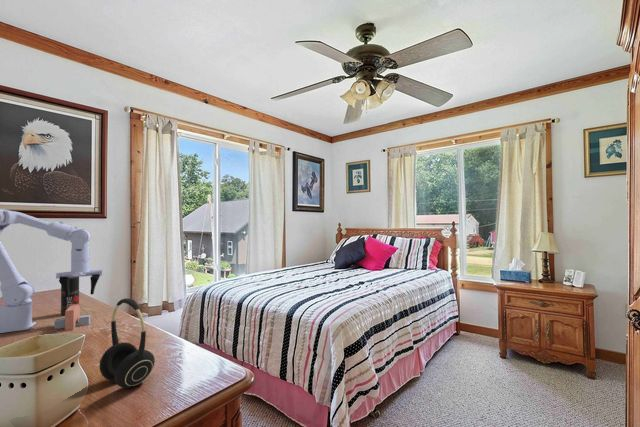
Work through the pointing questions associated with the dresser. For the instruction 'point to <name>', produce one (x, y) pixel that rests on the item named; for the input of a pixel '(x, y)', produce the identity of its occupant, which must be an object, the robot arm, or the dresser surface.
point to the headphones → (126, 356)
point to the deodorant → (73, 297)
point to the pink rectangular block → (72, 316)
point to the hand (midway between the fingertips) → (80, 295)
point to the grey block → (82, 321)
